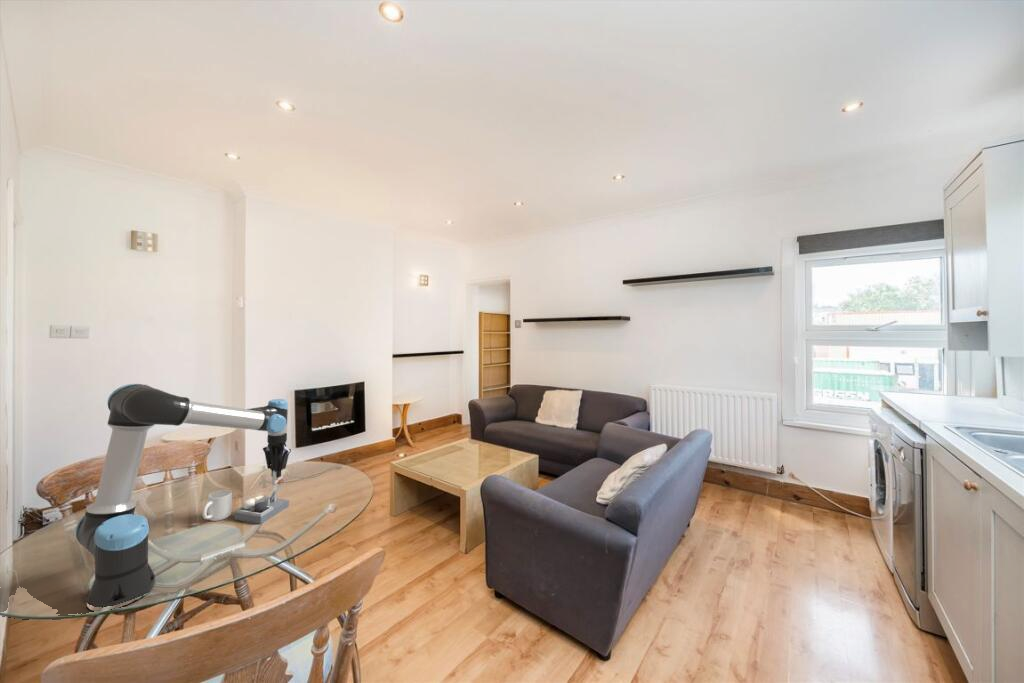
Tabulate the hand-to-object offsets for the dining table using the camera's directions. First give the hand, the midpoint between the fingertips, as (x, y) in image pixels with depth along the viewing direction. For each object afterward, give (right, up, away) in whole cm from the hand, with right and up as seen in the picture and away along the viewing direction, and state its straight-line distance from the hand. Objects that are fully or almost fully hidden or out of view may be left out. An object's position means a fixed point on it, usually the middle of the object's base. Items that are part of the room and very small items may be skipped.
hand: (276, 483), depth 173 cm
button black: (-2, -9, -7) cm, 12 cm away
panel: (-5, -12, -2) cm, 13 cm away
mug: (-21, -12, -9) cm, 25 cm away
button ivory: (-8, -8, -6) cm, 13 cm away
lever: (-3, -8, +1) cm, 9 cm away
